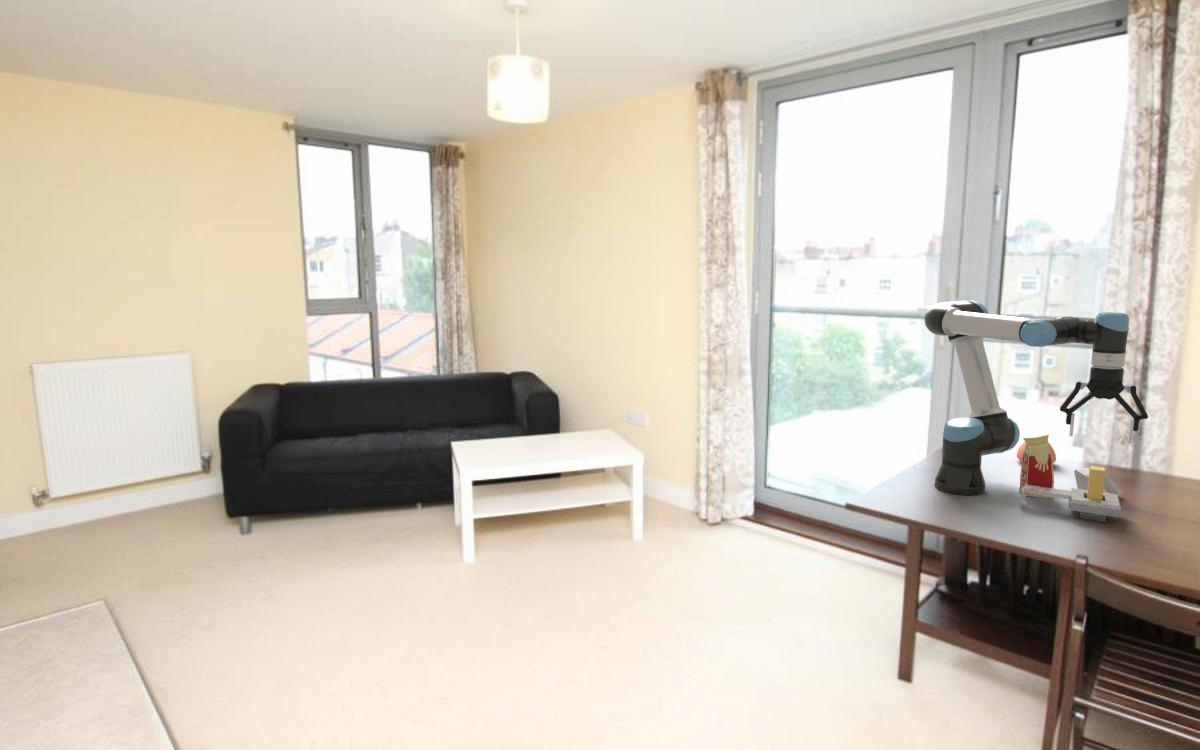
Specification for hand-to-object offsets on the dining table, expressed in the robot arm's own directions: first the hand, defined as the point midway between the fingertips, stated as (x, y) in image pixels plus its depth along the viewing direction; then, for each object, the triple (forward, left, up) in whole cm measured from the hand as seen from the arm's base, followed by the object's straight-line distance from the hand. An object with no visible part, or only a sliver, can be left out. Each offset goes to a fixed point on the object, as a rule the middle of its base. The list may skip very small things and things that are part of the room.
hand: (1099, 438), depth 190 cm
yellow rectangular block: (0, 0, -21) cm, 21 cm away
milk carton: (-15, +15, -24) cm, 32 cm away
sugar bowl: (-16, +51, -24) cm, 59 cm away
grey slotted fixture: (-6, 0, -24) cm, 25 cm away
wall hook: (+2, +21, -24) cm, 32 cm away
